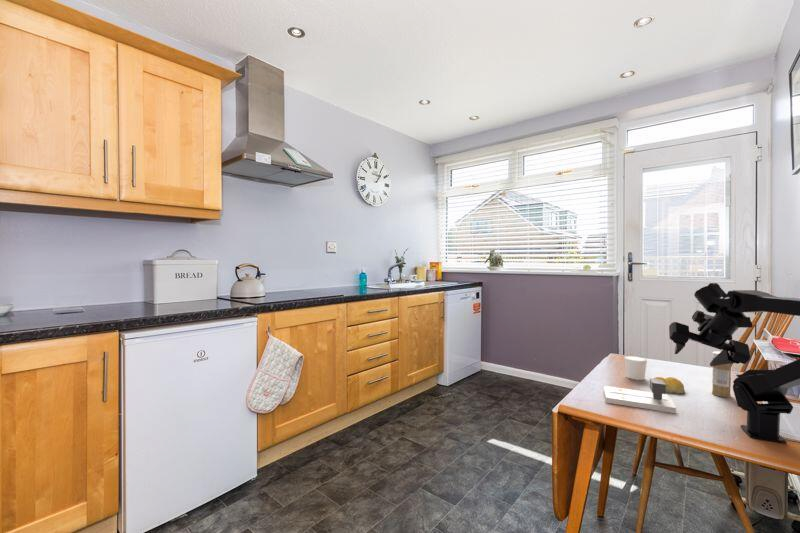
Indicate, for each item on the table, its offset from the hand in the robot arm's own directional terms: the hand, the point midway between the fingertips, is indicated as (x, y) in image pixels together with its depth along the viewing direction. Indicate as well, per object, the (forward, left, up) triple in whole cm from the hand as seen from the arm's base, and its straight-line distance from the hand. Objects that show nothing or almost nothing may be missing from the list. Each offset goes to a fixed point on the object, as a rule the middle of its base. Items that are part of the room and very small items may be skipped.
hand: (692, 358), depth 111 cm
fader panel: (-8, +15, -13) cm, 21 cm away
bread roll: (+8, +4, -13) cm, 16 cm away
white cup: (+17, +13, -13) cm, 25 cm away
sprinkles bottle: (+9, -9, -13) cm, 18 cm away
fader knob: (-8, +10, -11) cm, 17 cm away
